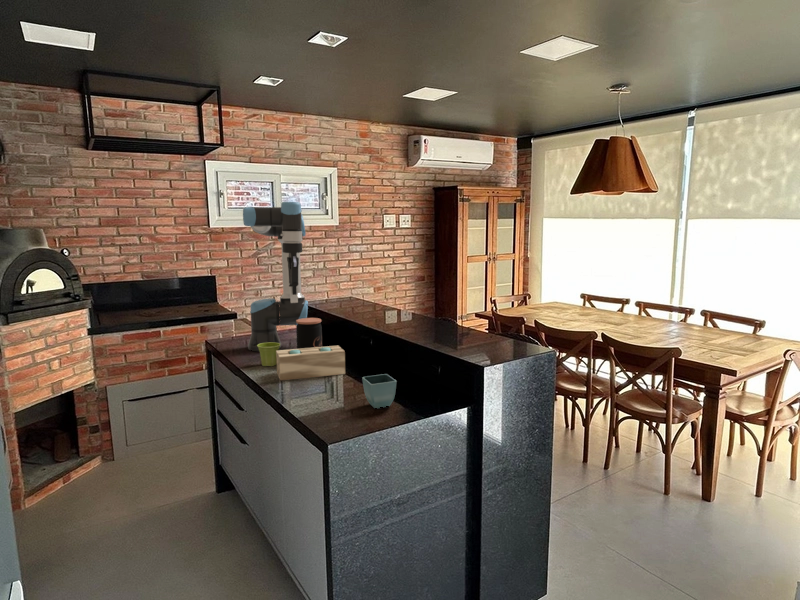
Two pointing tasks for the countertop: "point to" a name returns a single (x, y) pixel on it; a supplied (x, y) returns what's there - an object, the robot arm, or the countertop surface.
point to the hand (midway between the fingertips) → (294, 302)
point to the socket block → (310, 363)
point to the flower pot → (379, 390)
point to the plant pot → (268, 353)
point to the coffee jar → (309, 333)
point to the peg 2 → (325, 349)
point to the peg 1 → (295, 352)
